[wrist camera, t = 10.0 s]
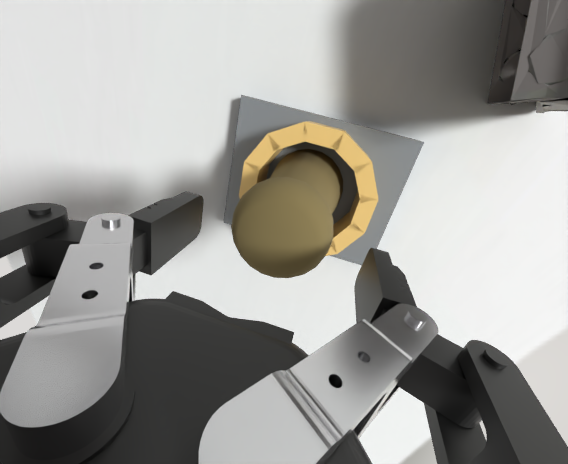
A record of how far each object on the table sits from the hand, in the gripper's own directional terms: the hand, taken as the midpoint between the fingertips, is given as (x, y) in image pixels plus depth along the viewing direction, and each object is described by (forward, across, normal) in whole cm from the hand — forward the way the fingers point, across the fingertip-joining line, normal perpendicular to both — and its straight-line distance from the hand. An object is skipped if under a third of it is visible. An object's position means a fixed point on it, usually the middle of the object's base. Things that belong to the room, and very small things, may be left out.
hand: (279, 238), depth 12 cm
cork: (+11, 0, 0) cm, 11 cm away
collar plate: (+12, 0, 0) cm, 12 cm away
